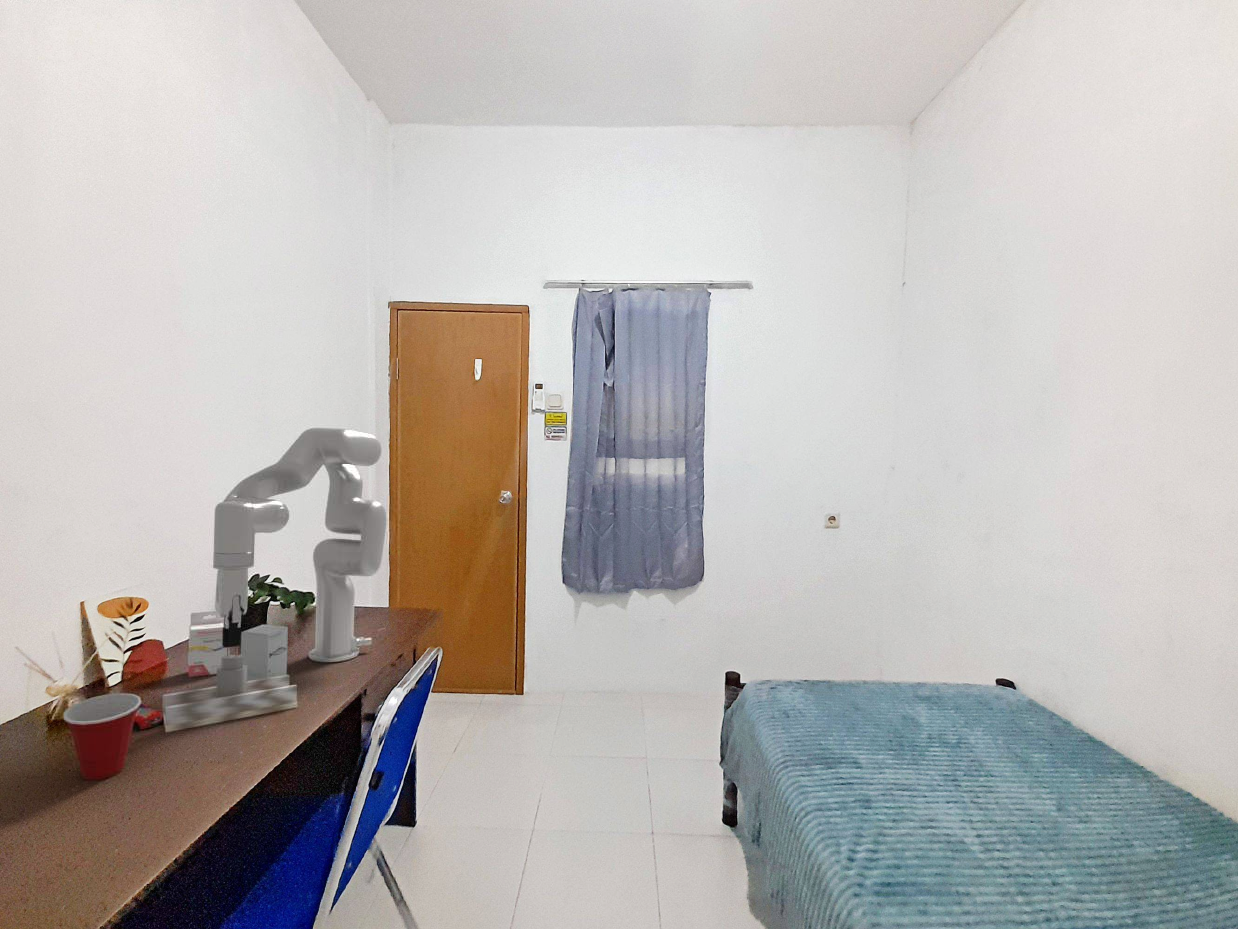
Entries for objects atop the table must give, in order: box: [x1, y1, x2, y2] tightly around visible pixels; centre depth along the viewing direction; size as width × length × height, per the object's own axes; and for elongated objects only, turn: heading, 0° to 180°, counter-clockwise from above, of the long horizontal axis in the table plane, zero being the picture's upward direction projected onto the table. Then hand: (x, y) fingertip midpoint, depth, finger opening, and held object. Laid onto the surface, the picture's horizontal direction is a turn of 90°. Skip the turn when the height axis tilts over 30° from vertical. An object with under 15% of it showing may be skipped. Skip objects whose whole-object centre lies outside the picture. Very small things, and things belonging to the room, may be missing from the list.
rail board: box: [161, 674, 298, 733], centre depth 146 cm, size 24×10×4 cm, turn 127°
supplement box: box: [240, 624, 289, 681], centre depth 164 cm, size 7×7×13 cm
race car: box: [132, 702, 163, 731], centre depth 138 cm, size 13×5×4 cm, turn 74°
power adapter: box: [216, 646, 247, 698], centre depth 145 cm, size 3×5×12 cm, turn 97°
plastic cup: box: [62, 692, 142, 781], centre depth 118 cm, size 11×11×12 cm
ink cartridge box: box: [187, 610, 230, 678], centre depth 168 cm, size 9×5×15 cm, turn 123°
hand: (231, 645), depth 145 cm, fingers closed
